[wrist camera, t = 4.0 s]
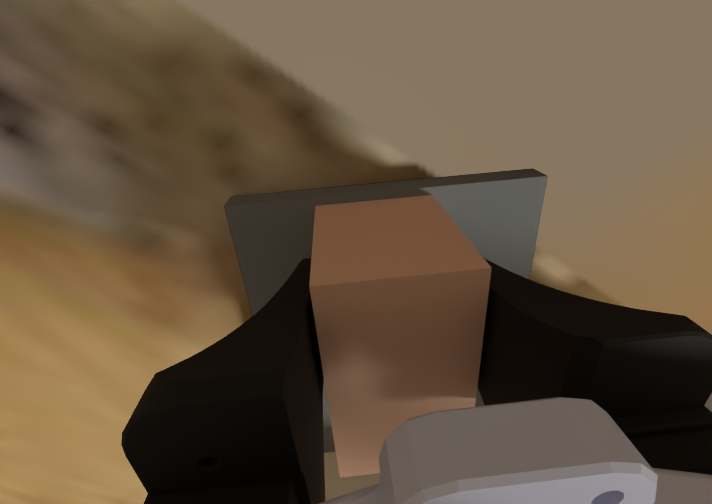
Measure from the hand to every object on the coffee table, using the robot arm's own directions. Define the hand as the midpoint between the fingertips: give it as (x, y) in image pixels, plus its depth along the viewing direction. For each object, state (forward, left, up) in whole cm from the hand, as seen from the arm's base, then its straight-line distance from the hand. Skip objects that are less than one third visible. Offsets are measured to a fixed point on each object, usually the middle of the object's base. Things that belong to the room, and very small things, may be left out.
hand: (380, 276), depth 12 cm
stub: (0, +1, -1) cm, 1 cm away
